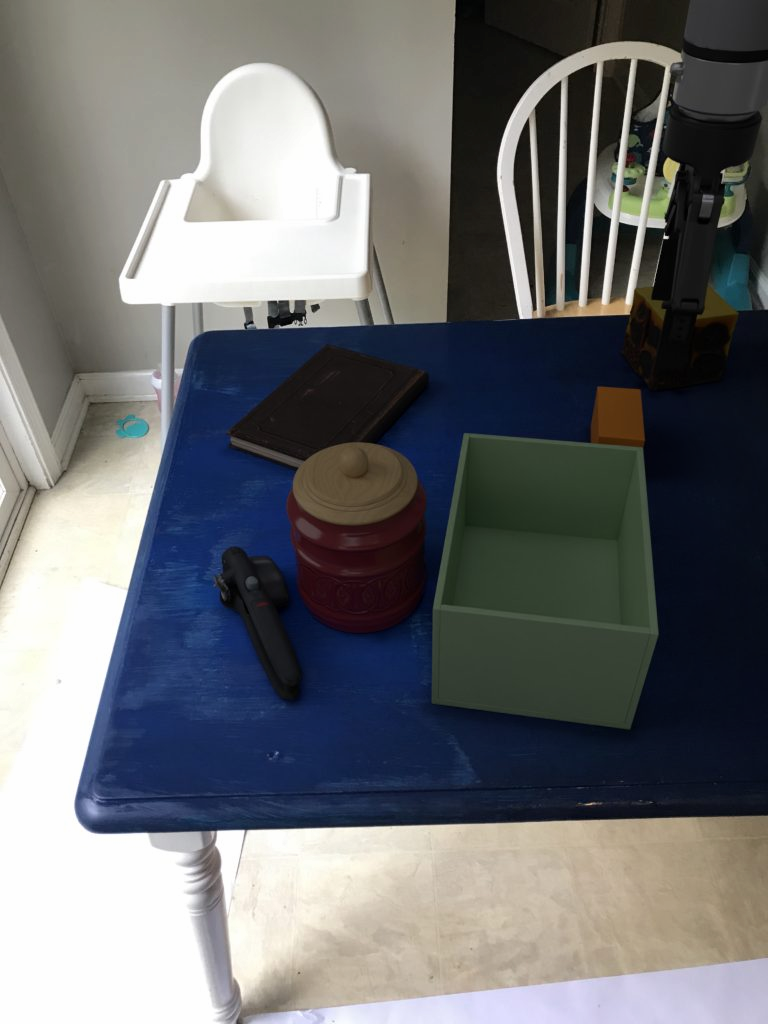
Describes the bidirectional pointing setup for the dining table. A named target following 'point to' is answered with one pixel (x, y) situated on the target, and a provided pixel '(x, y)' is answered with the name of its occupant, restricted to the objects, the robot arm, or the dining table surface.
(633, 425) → the block
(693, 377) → the cube with round hole
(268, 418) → the hardcover book
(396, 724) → the dining table surface
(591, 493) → the bin
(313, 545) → the kitchen canister
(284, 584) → the can opener
